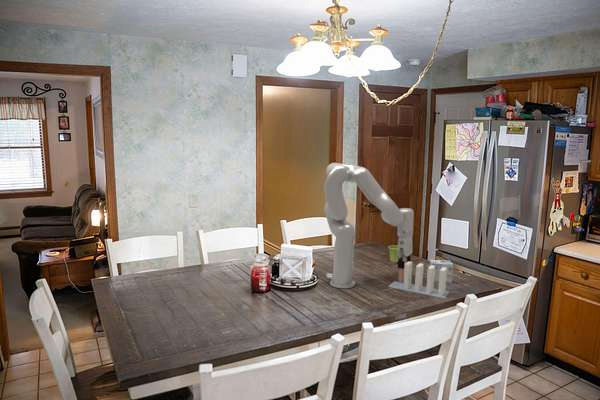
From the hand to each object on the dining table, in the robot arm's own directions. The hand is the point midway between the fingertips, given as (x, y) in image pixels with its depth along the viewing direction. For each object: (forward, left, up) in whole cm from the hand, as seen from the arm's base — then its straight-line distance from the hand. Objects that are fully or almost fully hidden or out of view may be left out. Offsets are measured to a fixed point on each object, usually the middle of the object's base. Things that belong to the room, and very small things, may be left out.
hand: (404, 265), depth 228 cm
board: (+10, -9, -8) cm, 16 cm away
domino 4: (+16, -9, -7) cm, 20 cm away
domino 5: (+22, -9, -7) cm, 25 cm away
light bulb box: (+16, +11, -9) cm, 21 cm away
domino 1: (-1, 0, -8) cm, 8 cm away
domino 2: (+5, -9, -7) cm, 13 cm away
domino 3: (+11, -9, -7) cm, 16 cm away
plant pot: (-15, +33, -9) cm, 37 cm away
